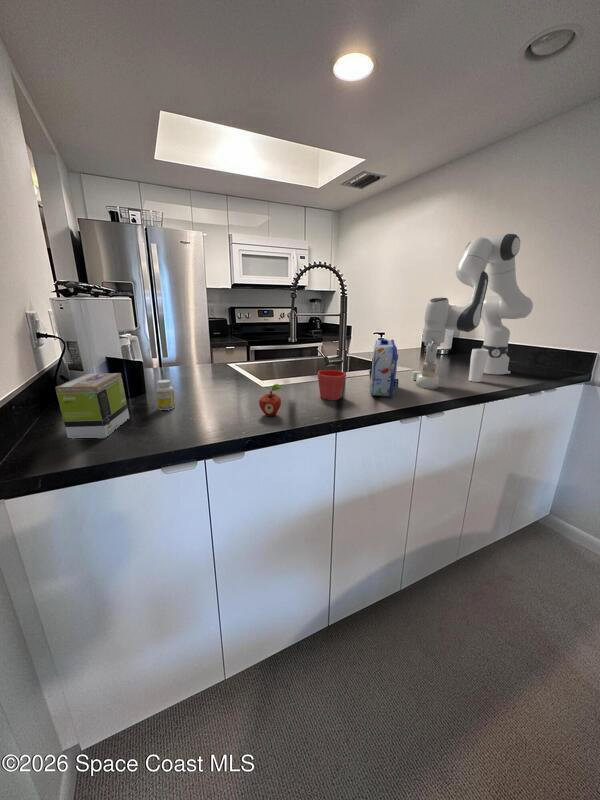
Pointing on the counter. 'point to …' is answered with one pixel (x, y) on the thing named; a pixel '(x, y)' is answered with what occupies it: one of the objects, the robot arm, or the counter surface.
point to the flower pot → (331, 384)
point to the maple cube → (428, 374)
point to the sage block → (414, 374)
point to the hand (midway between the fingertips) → (428, 369)
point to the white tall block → (477, 364)
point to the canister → (427, 381)
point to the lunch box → (384, 368)
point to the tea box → (93, 405)
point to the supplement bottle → (165, 395)
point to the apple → (270, 402)
